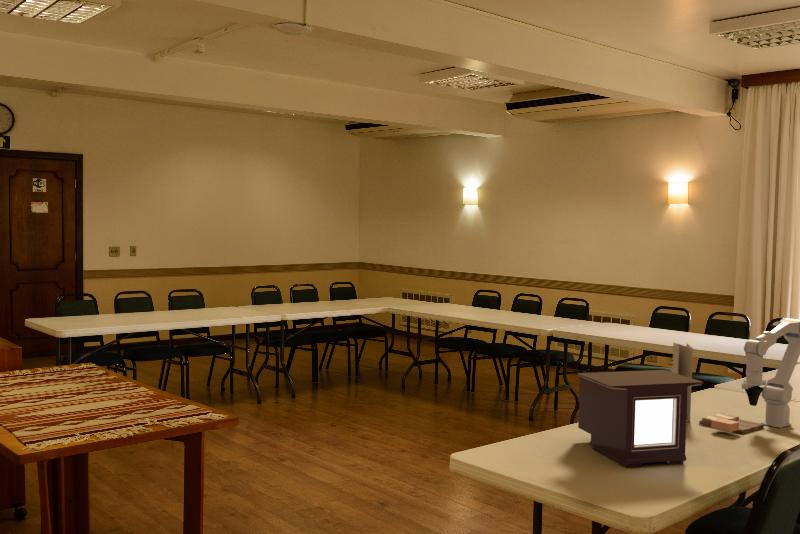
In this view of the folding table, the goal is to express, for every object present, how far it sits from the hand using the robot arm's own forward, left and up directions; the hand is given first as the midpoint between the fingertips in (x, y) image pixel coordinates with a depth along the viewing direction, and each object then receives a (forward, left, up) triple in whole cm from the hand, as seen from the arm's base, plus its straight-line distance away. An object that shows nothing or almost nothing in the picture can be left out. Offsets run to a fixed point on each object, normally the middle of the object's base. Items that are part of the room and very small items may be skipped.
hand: (753, 405), depth 307 cm
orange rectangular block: (+15, -3, -8) cm, 17 cm away
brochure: (+7, -27, -10) cm, 29 cm away
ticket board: (+3, -7, -9) cm, 12 cm away
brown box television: (+67, -9, -10) cm, 68 cm away
